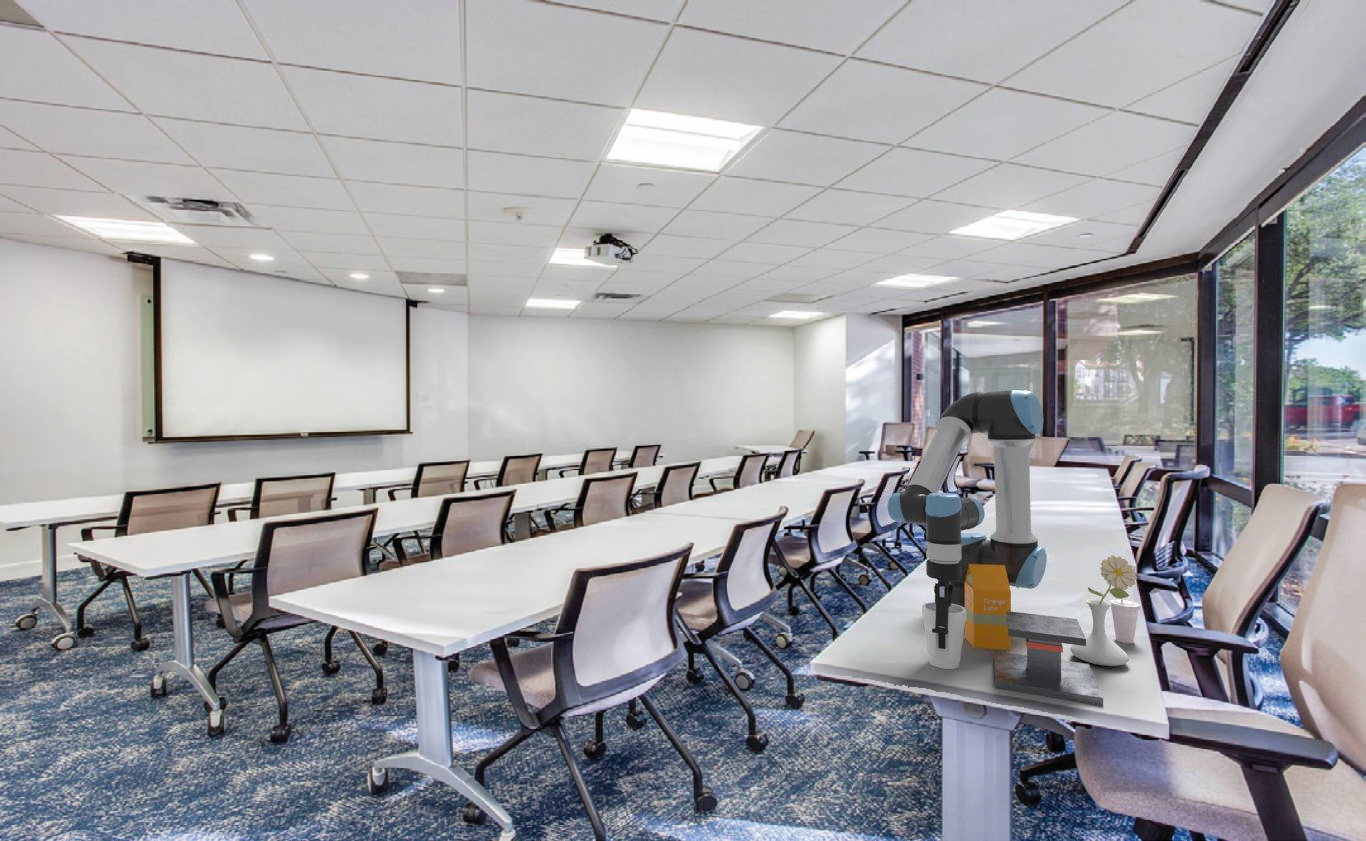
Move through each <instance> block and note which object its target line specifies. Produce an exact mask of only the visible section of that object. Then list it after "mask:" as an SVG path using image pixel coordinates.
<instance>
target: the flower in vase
mask: <svg viewBox="0 0 1366 841" xmlns="http://www.w3.org/2000/svg"><path fill="white" fill-rule="evenodd" d="M1100 565H1101V567H1100V576H1101V577H1103V579H1104V580H1105V581H1106V583H1107V584H1108V589H1107V590H1106V591H1105V593H1104V594H1103V593H1102V592H1099V591H1096V590H1094V589H1092V588H1091V587H1089V586H1087V590H1088V592H1089V593H1090V594H1093V595H1096V596H1099V597H1102V598H1101V599H1096V598H1095V599H1092V598H1091V599H1090V598H1089V599H1086V600H1085V602H1086V604H1087V605H1088V606H1089V608H1090V611H1091V616H1092V630H1091V633H1090V634H1088V635H1087V636H1085V638H1086V646H1080V645H1073V644H1071V647H1070V652H1071V654H1072V655H1073V656H1074V657H1076V658H1077V659H1080V660H1082V661H1084V662H1087V663H1088V664H1090V663H1091V664H1094V665H1099V666H1103V667H1106V666H1107V667H1118V666H1123V665H1126V664H1127V663H1128V662H1129V661H1130V658H1129V656H1128V653H1126V652H1125V651H1124V649H1122V648H1121V647H1120V646H1119V645H1118V644H1117V643H1115V642H1114V641H1113V640H1112V639H1111V638H1110V637H1109V636H1107V633H1106V630H1105V624H1106V622H1105V620H1106V614H1107V611H1108V609H1109V608H1111V605H1112V604H1111V603H1110V601H1107V600H1106V601H1105V600H1104V599H1105V598H1106V596H1107V594H1109V593H1110V595H1112V596H1113V597H1114V598H1115V599H1117V600H1121V598H1123V599H1125V598H1128V597H1130V595H1129V593H1128V592H1127V591H1126V590H1127V589H1128V588H1133V586H1135V585H1136V584H1137V583H1136V580H1137V579H1138V577H1137V576H1136V575H1137V572H1136V570H1135V569H1134V568H1133V565H1132V564H1129V561H1128V560H1127V559H1126V558H1122V557H1121V556H1115V555H1113V554H1112V555H1110V556H1108V557H1107V558H1104V559H1102V560H1101V562H1100ZM1111 587H1113V588H1111Z"/></svg>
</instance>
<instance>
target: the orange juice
mask: <svg viewBox="0 0 1366 841" xmlns="http://www.w3.org/2000/svg"><path fill="white" fill-rule="evenodd" d="M965 609H966V621H965V628H964V638H965V640H966V641H967V642H968V643H969V644H970V645H971V646H972V648H973V649H989V650H1007V651H1009V650H1010V651H1011V650H1012V636H1008V630H1007V620H1006V611H1011V612H1012V592H1011V586H1009V582H1008V577H1007V573H1006V568H1005V565H985V564H969V567H968V571H967V575H966V579H965Z"/></svg>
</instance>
